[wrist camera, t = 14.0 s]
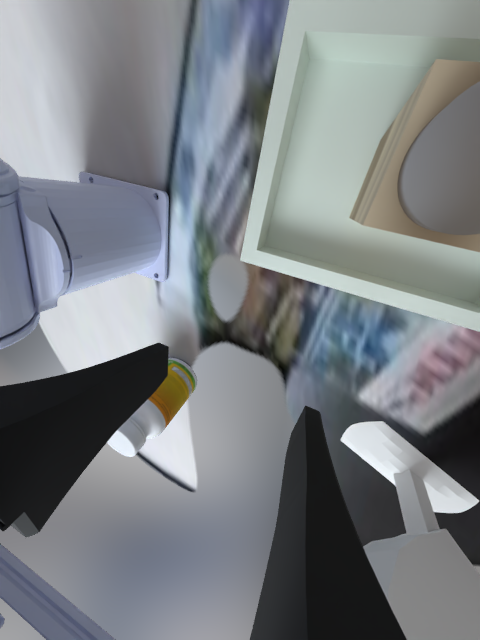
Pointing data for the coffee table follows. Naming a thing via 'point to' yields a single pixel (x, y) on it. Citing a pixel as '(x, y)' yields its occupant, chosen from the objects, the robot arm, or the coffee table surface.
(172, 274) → the coffee table surface
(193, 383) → the supplement bottle
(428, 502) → the heart sculpture
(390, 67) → the tray
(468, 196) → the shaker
